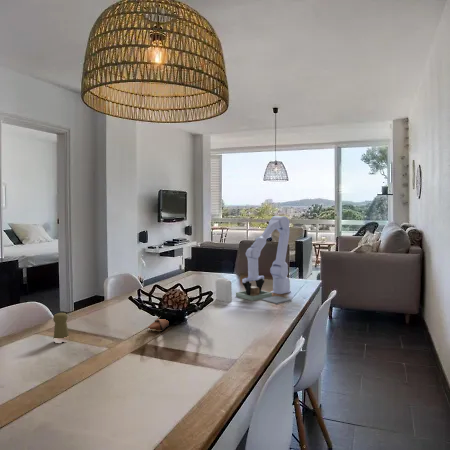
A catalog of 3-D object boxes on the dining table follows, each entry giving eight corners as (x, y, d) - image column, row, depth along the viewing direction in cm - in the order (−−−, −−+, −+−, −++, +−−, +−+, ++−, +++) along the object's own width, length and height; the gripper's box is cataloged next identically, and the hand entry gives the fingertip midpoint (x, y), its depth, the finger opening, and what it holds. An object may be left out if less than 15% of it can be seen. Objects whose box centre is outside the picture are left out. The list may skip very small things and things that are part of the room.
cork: (73, 339, 156) (71, 311, 156) (62, 344, 150) (60, 316, 150) (60, 337, 158) (59, 310, 158) (49, 343, 152) (48, 315, 152)
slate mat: (276, 297, 216) (276, 295, 216) (291, 301, 207) (291, 299, 207) (261, 300, 209) (261, 298, 209) (276, 304, 201) (276, 302, 201)
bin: (254, 293, 228) (254, 288, 228) (271, 297, 217) (271, 292, 217) (236, 297, 219) (235, 292, 219) (252, 301, 208) (252, 296, 208)
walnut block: (253, 295, 221) (253, 286, 221) (259, 296, 217) (259, 287, 217) (248, 296, 219) (247, 287, 219) (254, 297, 215) (253, 288, 215)
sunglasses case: (160, 318, 181) (166, 306, 180) (172, 326, 180) (179, 314, 179) (143, 331, 164) (150, 318, 162) (157, 340, 162) (164, 327, 161)
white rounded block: (214, 299, 214) (214, 277, 214) (221, 298, 217) (220, 276, 216) (226, 303, 206) (226, 279, 206) (233, 301, 209) (232, 278, 208)
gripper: (247, 272, 210) (248, 297, 210) (267, 268, 218) (268, 293, 219) (239, 270, 215) (240, 295, 216) (259, 267, 224) (259, 290, 225)
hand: (253, 293), depth 218 cm, fingers open, 7 cm apart
